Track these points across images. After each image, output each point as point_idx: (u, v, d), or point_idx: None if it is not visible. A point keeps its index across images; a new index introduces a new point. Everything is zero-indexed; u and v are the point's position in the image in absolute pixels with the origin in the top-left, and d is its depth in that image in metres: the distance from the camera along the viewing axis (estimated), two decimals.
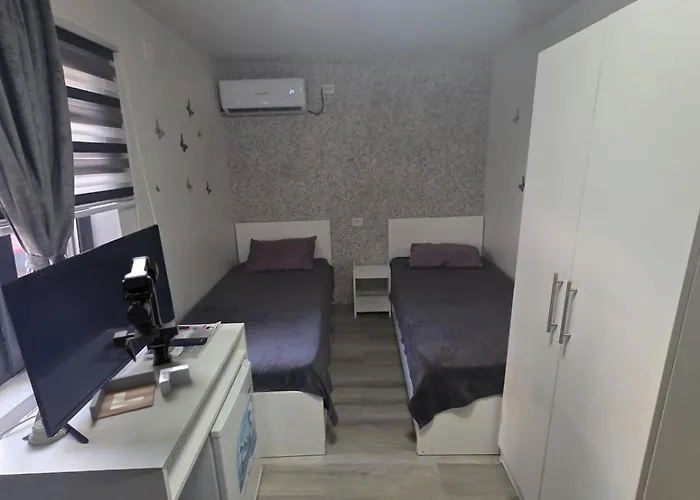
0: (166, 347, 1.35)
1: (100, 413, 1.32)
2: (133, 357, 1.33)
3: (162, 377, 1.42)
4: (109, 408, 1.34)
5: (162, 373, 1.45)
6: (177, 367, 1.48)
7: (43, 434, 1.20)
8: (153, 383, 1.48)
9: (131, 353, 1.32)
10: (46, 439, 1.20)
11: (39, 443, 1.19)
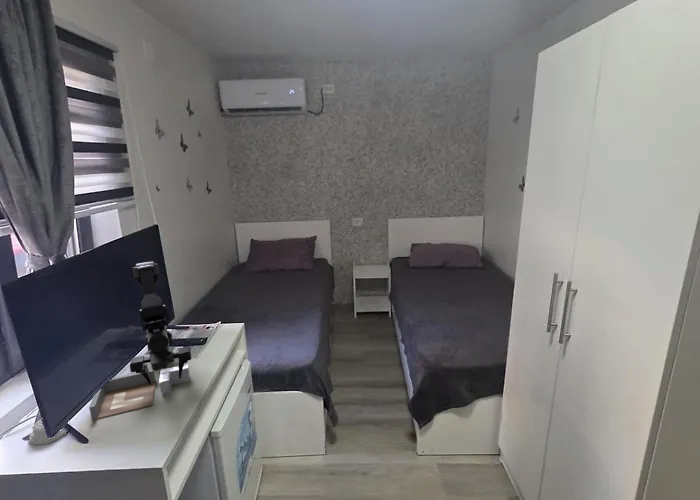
0: (180, 371, 1.44)
1: (100, 413, 1.32)
2: (149, 381, 1.41)
3: (162, 377, 1.42)
4: (109, 408, 1.34)
5: (162, 373, 1.45)
6: (177, 367, 1.48)
7: (43, 434, 1.20)
8: (153, 383, 1.48)
9: (147, 377, 1.40)
10: (47, 439, 1.20)
11: (39, 443, 1.19)
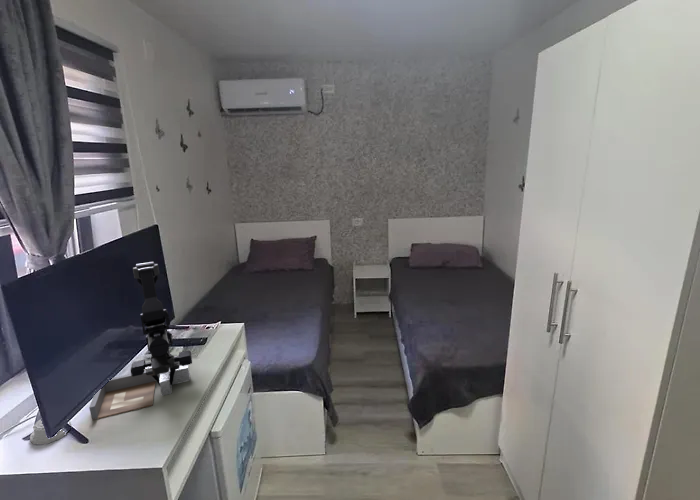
0: (171, 377, 1.43)
1: (100, 413, 1.32)
2: None
3: (162, 377, 1.42)
4: (109, 408, 1.34)
5: (162, 373, 1.45)
6: None
7: (44, 433, 1.20)
8: (153, 383, 1.48)
9: (157, 379, 1.41)
10: (47, 438, 1.20)
11: (40, 442, 1.19)
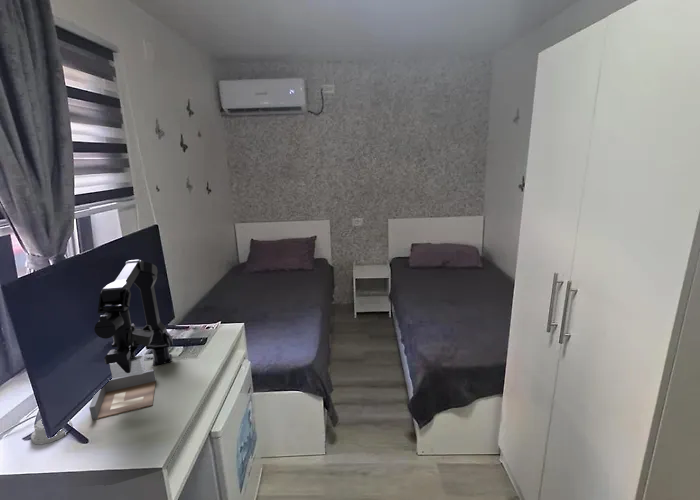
0: None
1: (100, 413, 1.32)
2: None
3: (130, 359, 1.34)
4: (109, 408, 1.34)
5: None
6: None
7: None
8: (153, 383, 1.48)
9: (129, 362, 1.32)
10: None
11: (41, 442, 1.19)
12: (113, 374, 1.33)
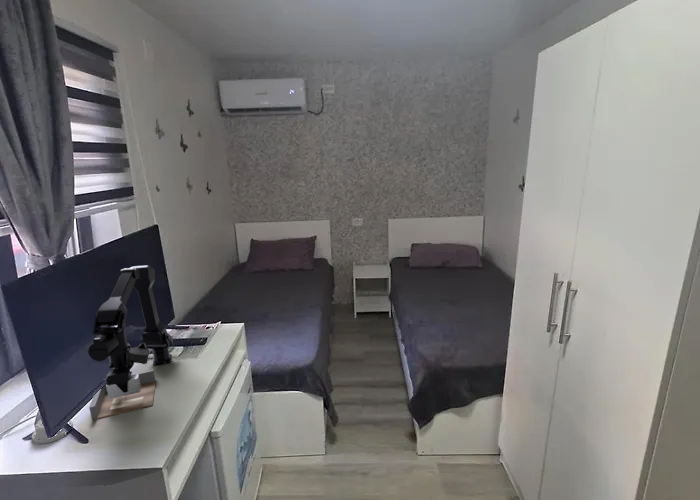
0: None
1: (100, 413, 1.32)
2: (127, 386, 1.34)
3: None
4: (109, 408, 1.34)
5: None
6: None
7: None
8: (153, 383, 1.48)
9: (127, 382, 1.33)
10: None
11: (42, 441, 1.19)
12: (110, 395, 1.33)
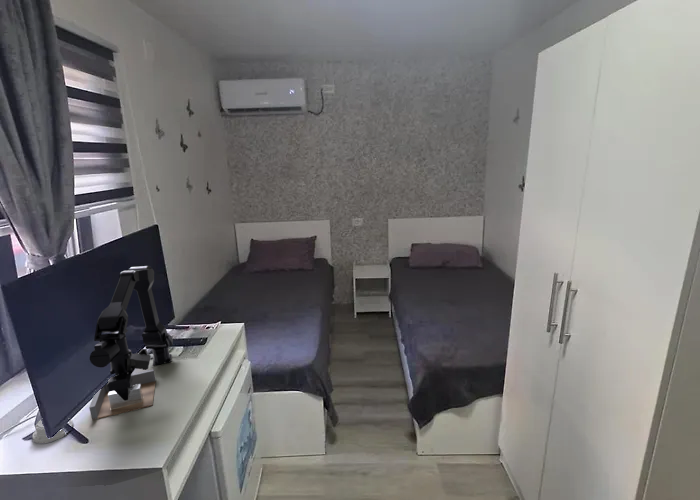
0: None
1: (100, 413, 1.32)
2: None
3: (128, 389, 1.35)
4: (109, 408, 1.34)
5: None
6: None
7: None
8: (153, 383, 1.48)
9: None
10: None
11: (43, 441, 1.19)
12: (112, 405, 1.33)
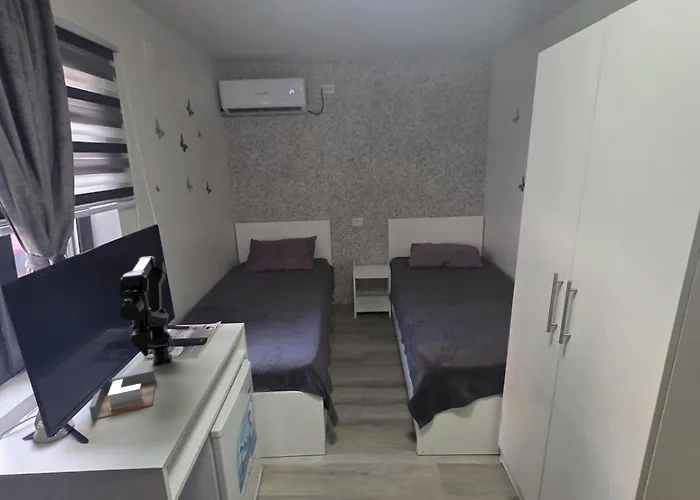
0: None
1: (100, 413, 1.32)
2: None
3: (128, 389, 1.35)
4: (109, 408, 1.34)
5: (119, 391, 1.34)
6: (114, 385, 1.38)
7: None
8: (153, 383, 1.48)
9: (148, 346, 1.43)
10: None
11: (44, 441, 1.20)
12: (112, 405, 1.33)
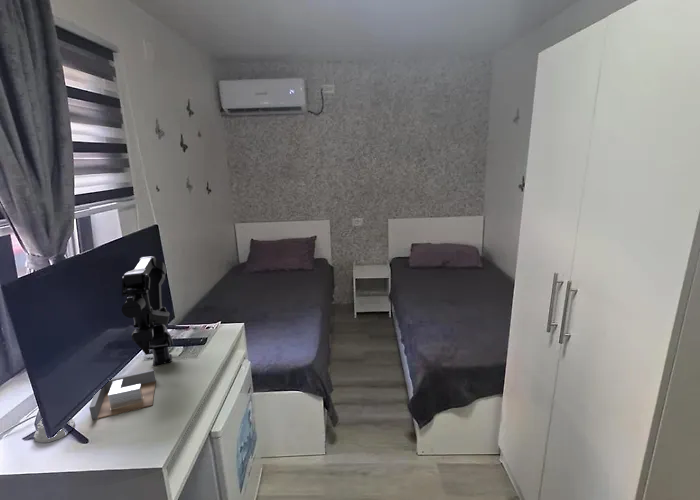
0: None
1: (100, 413, 1.32)
2: (149, 348, 1.44)
3: (128, 389, 1.35)
4: (109, 408, 1.34)
5: (119, 391, 1.34)
6: (114, 385, 1.38)
7: None
8: (153, 383, 1.48)
9: (149, 344, 1.43)
10: None
11: (44, 440, 1.20)
12: (112, 405, 1.33)
